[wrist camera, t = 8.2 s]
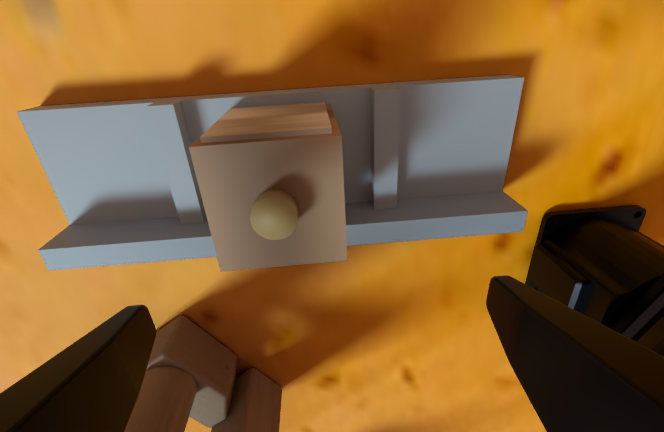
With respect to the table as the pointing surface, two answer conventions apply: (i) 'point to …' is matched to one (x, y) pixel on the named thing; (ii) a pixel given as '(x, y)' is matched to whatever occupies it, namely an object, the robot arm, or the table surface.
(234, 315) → the table surface
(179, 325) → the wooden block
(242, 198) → the cabinet block
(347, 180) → the grey slotted rack
